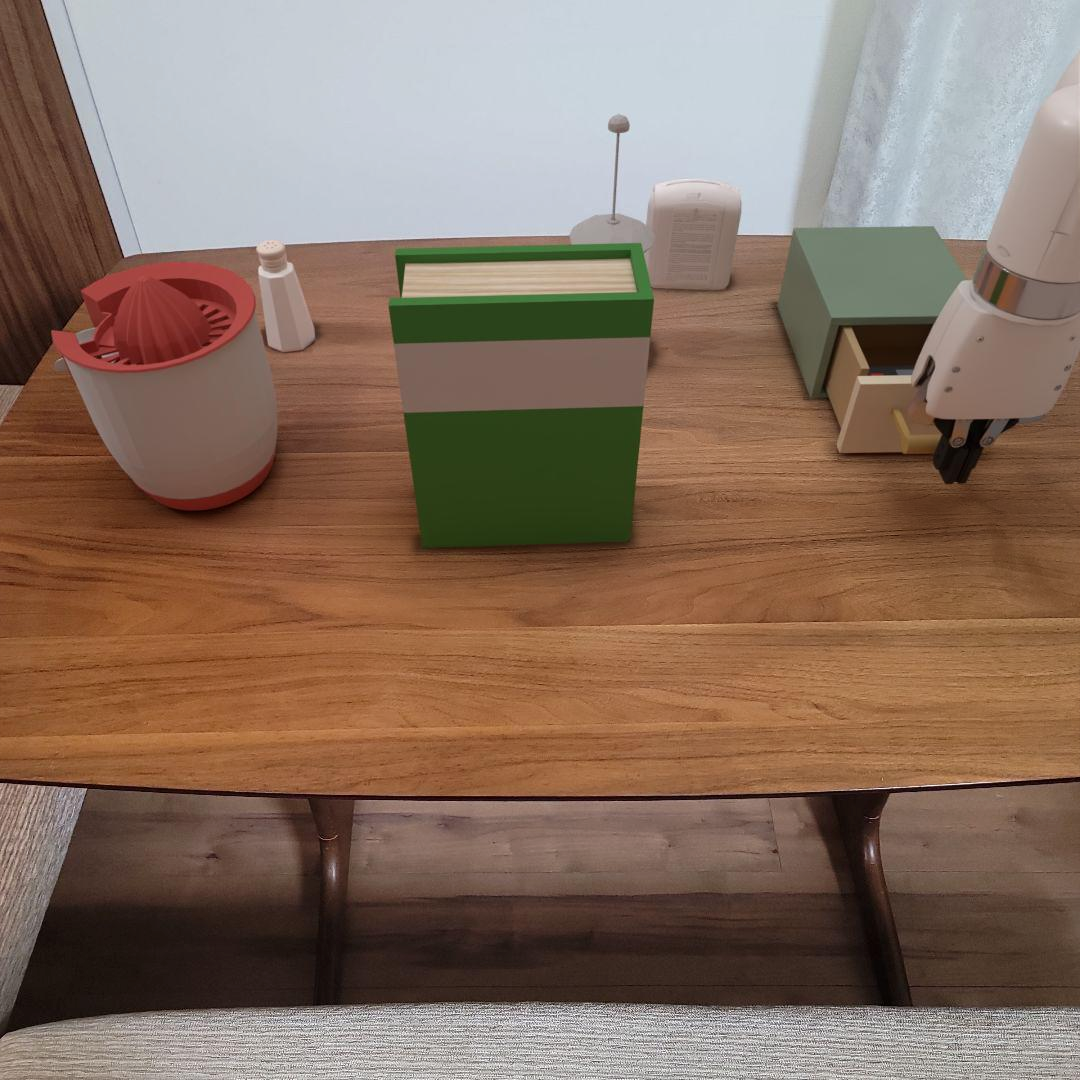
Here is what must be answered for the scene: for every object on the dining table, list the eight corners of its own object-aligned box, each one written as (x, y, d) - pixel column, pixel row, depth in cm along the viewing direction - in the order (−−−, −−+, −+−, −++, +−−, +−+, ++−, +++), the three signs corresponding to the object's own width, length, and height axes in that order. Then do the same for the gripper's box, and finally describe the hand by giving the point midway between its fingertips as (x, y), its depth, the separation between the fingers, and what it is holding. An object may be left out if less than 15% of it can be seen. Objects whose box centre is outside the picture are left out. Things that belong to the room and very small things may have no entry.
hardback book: (422, 551, 79) (388, 305, 61) (426, 491, 84) (395, 248, 66) (629, 545, 79) (654, 299, 62) (620, 485, 84) (641, 242, 67)
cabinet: (956, 399, 93) (990, 315, 86) (809, 401, 93) (831, 317, 85) (907, 307, 104) (933, 225, 97) (776, 308, 104) (793, 227, 97)
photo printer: (727, 275, 109) (744, 172, 100) (730, 295, 106) (747, 191, 97) (640, 272, 110) (648, 170, 101) (640, 292, 107) (649, 188, 98)
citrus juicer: (139, 413, 92) (63, 224, 77) (312, 419, 91) (269, 229, 76) (75, 526, 81) (-27, 330, 66) (271, 533, 80) (212, 338, 66)
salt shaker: (325, 342, 100) (306, 248, 92) (278, 359, 98) (255, 265, 90) (304, 319, 103) (284, 226, 95) (258, 334, 101) (233, 241, 93)
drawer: (1006, 490, 82) (1041, 421, 76) (854, 493, 82) (877, 424, 76) (932, 352, 97) (957, 285, 91) (802, 354, 96) (819, 287, 91)
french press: (630, 323, 102) (649, 87, 84) (673, 383, 95) (704, 139, 76) (546, 339, 100) (547, 101, 82) (583, 403, 92) (593, 155, 74)
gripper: (1113, 250, 68) (1019, 442, 81) (910, 253, 67) (849, 445, 81) (1164, 307, 63) (1054, 502, 76) (944, 310, 62) (873, 505, 76)
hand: (949, 472), depth 78 cm, fingers closed
